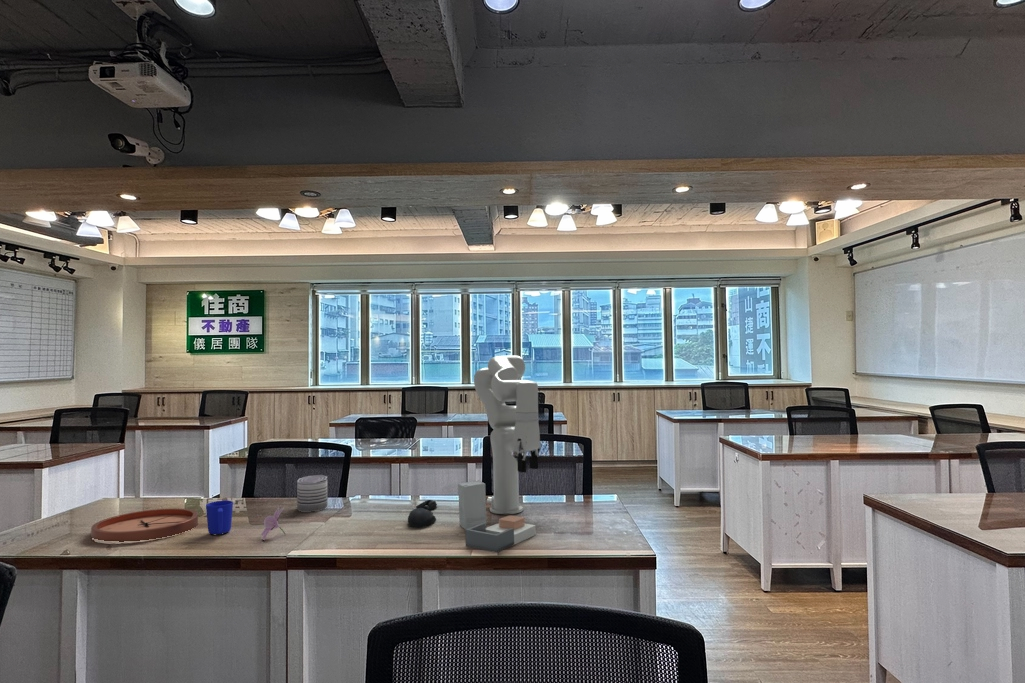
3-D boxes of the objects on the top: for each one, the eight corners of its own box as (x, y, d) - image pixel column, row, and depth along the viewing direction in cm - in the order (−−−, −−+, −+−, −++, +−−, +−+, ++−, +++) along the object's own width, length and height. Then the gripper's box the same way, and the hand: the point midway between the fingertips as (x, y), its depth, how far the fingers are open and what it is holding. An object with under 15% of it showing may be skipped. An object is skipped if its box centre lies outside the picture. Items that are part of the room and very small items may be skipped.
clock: (67, 529, 195) (149, 506, 225) (67, 541, 195) (149, 517, 225) (143, 535, 186) (218, 510, 217) (143, 548, 186) (218, 521, 216)
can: (333, 507, 235) (333, 476, 235) (310, 513, 225) (310, 481, 225) (314, 503, 241) (314, 474, 241) (290, 510, 231) (290, 478, 232)
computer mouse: (405, 529, 203) (405, 513, 203) (417, 506, 235) (417, 492, 235) (433, 529, 203) (433, 512, 203) (441, 505, 235) (441, 492, 236)
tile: (499, 527, 193) (498, 519, 193) (509, 522, 197) (509, 515, 198) (514, 529, 189) (514, 522, 189) (524, 525, 194) (524, 517, 194)
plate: (483, 538, 190) (483, 529, 191) (505, 529, 201) (505, 520, 201) (514, 544, 184) (514, 534, 184) (535, 534, 194) (535, 525, 194)
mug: (206, 541, 192) (206, 510, 192) (205, 531, 203) (206, 502, 203) (234, 537, 196) (234, 506, 196) (232, 528, 206) (232, 499, 207)
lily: (267, 534, 202) (253, 512, 199) (300, 519, 203) (287, 497, 200) (261, 556, 191) (246, 533, 188) (296, 540, 192) (281, 517, 189)
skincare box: (480, 522, 210) (479, 479, 210) (487, 526, 204) (486, 483, 205) (458, 525, 206) (457, 482, 206) (464, 529, 201) (463, 485, 201)
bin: (465, 546, 183) (465, 529, 183) (483, 538, 190) (483, 522, 191) (496, 552, 176) (496, 535, 176) (514, 544, 184) (513, 528, 184)
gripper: (531, 414, 212) (532, 465, 211) (503, 419, 198) (504, 473, 197) (549, 415, 208) (550, 467, 207) (522, 420, 193) (523, 475, 193)
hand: (528, 469), depth 202 cm, fingers open, 6 cm apart
